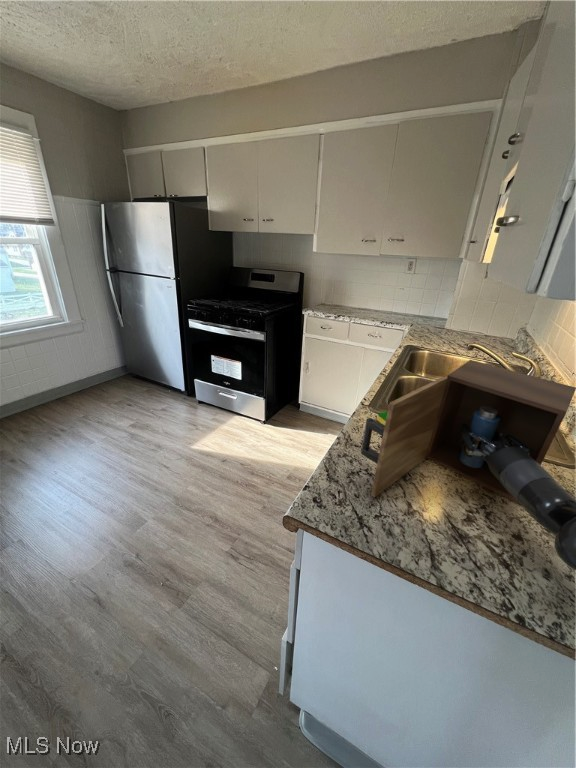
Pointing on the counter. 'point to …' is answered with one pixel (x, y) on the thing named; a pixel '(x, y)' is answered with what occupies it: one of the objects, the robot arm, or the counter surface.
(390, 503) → the counter surface
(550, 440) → the cupboard
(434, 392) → the cupboard door
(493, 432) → the water bottle
